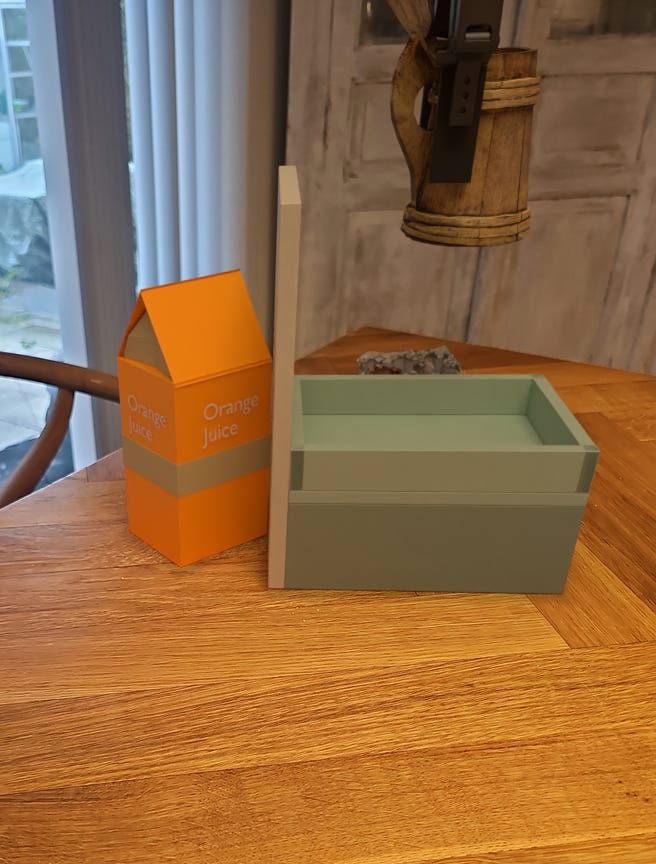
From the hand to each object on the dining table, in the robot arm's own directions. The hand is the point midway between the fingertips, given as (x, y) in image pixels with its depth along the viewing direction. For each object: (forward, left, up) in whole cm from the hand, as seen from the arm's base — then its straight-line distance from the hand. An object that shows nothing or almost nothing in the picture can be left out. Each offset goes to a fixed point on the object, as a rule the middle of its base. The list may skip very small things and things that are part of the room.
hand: (440, 172), depth 62 cm
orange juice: (+17, +7, -25) cm, 31 cm away
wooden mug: (0, 0, -4) cm, 4 cm away
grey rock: (-4, -27, -25) cm, 38 cm away
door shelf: (0, +8, -25) cm, 26 cm away
